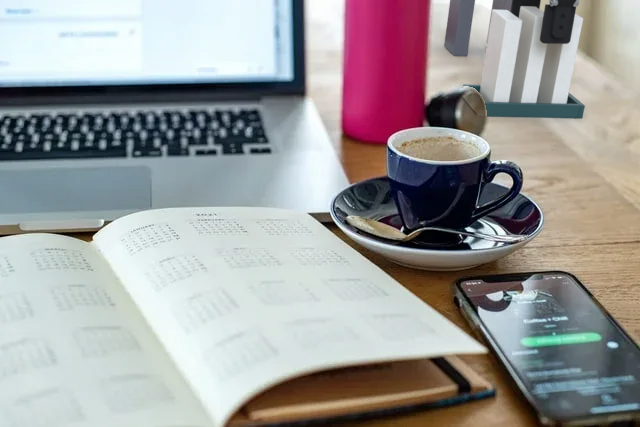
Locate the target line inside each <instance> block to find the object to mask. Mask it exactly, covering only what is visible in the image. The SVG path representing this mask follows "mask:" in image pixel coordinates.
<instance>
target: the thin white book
mask: <svg viewBox="0 0 640 427" xmlns="http://www.w3.org/2000/svg"><path fill="white" fill-rule="evenodd" d="M543 16H544V10H541V8H539V9H538V8H537V7H531V6H521V7H520V13H519V19H520V20H522V26H521V32H520V38H519V43H518V49H517V55H516V61H515V67H514V73H513V79H512V85H511V91H510V97H509V102H518V103H536V101H537V96H538V91H539V85H540V80H541V74H542V69H543V63H544V58H545V52H546V47H547V44H544V43H542V42H541V41H540V35H541V28H542V22H543Z"/></svg>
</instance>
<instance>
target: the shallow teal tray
mask: <svg viewBox="0 0 640 427" xmlns="http://www.w3.org/2000/svg"><path fill="white" fill-rule="evenodd" d="M463 86H469V87H473V88H475V89H476V90H477V91H478V92H479V93H480V87H481V84H468V83H467V84H466V83H464V84H463V85H462V87H463ZM485 105H486V110H487V117H490V118H526V119H527V118H532V119H533V118H534V119H575V120H576V119H577V120H578V119H580V120H581V119H583V117H584V111H585V107H586V105H585V104H583V103H582V102H581V101H580V100H579V99H578V98H577V97H575V96H574V95H573V94H571V93H570V92H569V93H568V98H567V103H566V104H561V103H518V102H485ZM487 117H486V118H487Z"/></svg>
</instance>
